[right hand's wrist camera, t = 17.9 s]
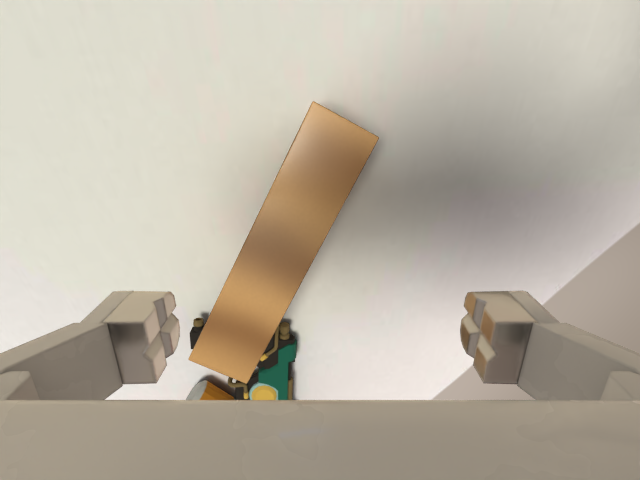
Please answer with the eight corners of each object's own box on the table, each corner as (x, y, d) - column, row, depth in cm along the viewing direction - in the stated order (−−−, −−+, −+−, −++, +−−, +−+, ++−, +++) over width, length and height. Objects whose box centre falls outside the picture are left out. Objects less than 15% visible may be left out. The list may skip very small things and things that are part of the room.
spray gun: (203, 291, 41) (331, 325, 43) (173, 407, 45) (289, 432, 48) (193, 311, 37) (334, 347, 39) (161, 435, 41) (288, 461, 44)
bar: (312, 109, 33) (312, 100, 25) (363, 138, 34) (379, 137, 26) (212, 315, 38) (187, 360, 30) (259, 336, 39) (246, 384, 31)
